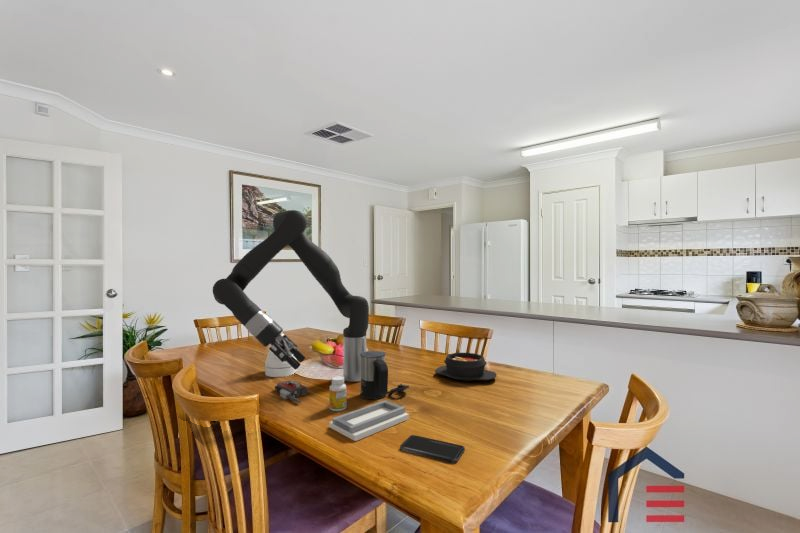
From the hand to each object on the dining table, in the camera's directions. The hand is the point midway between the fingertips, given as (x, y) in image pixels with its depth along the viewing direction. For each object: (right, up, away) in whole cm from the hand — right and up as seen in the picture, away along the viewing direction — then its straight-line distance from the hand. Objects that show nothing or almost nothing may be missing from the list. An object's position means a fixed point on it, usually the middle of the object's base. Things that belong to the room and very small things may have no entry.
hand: (300, 363), depth 122 cm
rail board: (+23, -15, -10) cm, 29 cm away
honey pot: (-19, -14, +41) cm, 48 cm away
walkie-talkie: (-6, -15, +13) cm, 21 cm away
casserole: (+58, -14, +34) cm, 69 cm away
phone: (+40, -15, -26) cm, 50 cm away
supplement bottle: (+12, -15, +1) cm, 19 cm away
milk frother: (+26, -15, +14) cm, 33 cm away
